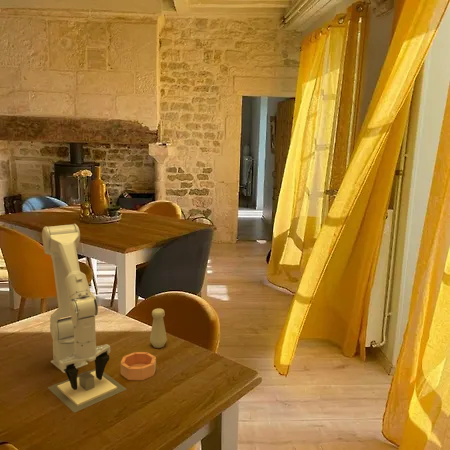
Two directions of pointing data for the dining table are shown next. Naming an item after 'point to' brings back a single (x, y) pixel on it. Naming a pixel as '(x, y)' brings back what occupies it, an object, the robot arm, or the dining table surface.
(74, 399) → the lid
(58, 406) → the dining table surface
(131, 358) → the bowl
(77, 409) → the mat
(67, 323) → the robot arm
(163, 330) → the salt shaker
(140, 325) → the dining table surface
